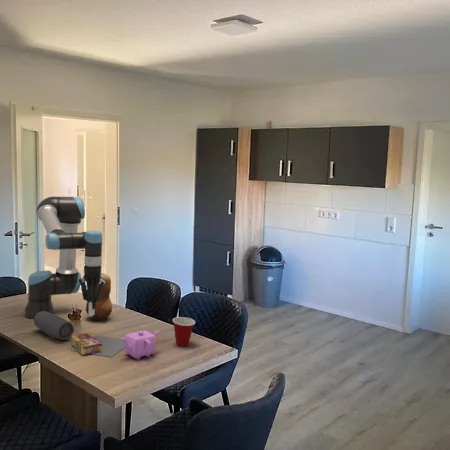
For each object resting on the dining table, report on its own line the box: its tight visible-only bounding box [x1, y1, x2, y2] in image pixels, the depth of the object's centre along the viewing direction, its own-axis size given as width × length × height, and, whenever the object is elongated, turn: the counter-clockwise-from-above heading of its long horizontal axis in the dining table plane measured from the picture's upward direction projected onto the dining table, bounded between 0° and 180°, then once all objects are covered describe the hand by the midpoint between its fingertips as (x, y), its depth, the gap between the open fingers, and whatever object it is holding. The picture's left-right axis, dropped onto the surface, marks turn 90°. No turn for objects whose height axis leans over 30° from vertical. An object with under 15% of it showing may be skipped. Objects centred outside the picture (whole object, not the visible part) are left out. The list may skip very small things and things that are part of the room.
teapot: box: [119, 330, 160, 360], centre depth 219 cm, size 15×13×11 cm
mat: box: [70, 334, 125, 358], centre depth 228 cm, size 20×22×1 cm
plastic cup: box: [172, 316, 196, 348], centre depth 235 cm, size 11×11×12 cm
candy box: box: [71, 332, 102, 356], centre depth 223 cm, size 9×4×15 cm
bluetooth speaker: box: [33, 311, 75, 341], centre depth 237 cm, size 23×9×10 cm, turn 48°
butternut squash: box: [85, 272, 113, 322], centre depth 265 cm, size 14×13×25 cm
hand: (91, 315), depth 228 cm, fingers closed
